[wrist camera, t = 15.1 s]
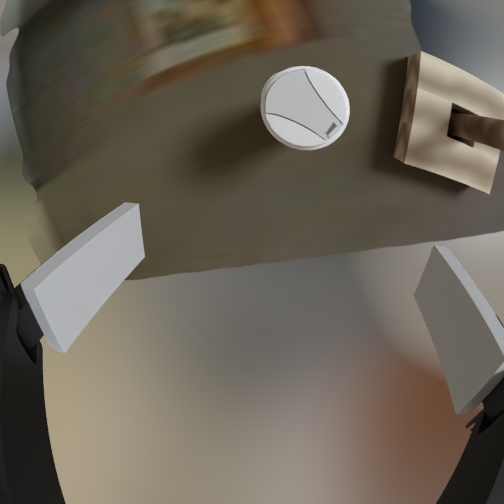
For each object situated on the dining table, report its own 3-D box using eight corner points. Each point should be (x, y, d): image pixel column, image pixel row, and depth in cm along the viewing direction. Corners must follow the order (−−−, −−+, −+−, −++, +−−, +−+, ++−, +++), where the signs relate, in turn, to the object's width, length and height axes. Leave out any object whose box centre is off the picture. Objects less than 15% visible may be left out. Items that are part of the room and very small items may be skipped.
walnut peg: (440, 108, 30) (498, 115, 17) (458, 116, 30) (518, 127, 17) (436, 129, 32) (493, 145, 19) (454, 136, 31) (513, 156, 18)
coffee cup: (345, 108, 34) (370, 107, 21) (307, 149, 37) (310, 170, 24) (298, 69, 32) (296, 45, 19) (261, 111, 36) (238, 112, 23)
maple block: (408, 56, 27) (421, 51, 23) (490, 95, 26) (507, 96, 22) (393, 156, 35) (404, 163, 31) (473, 184, 34) (489, 194, 30)
